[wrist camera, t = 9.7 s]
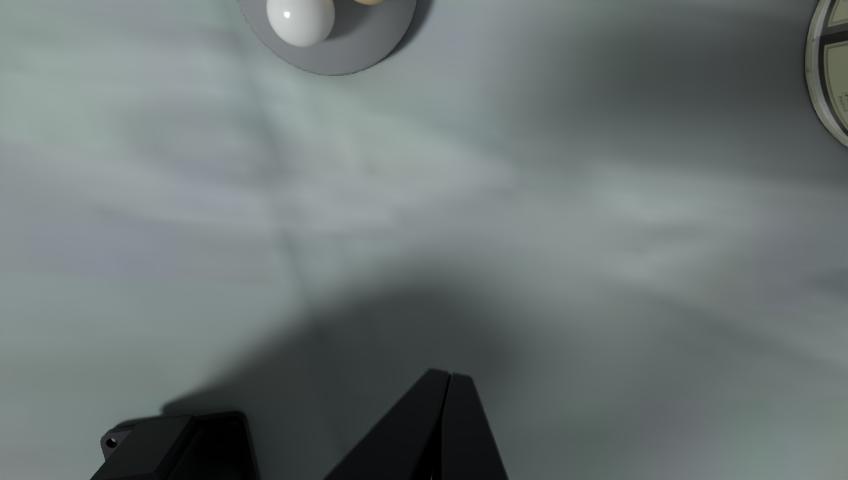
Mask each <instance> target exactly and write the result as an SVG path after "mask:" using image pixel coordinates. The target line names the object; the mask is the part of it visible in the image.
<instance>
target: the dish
mask: <svg viewBox="0 0 848 480" xmlns="http://www.w3.org/2000/svg"><path fill="white" fill-rule="evenodd" d="M237 1H238V3H239V6H240V9H241V11H242V13H243V15H244V17H245V19H246V21H247V23H248V25H249V26H250V27H251V29H252V30H253V32H254V33H255V35H256V36H257V37H258V38H259V39H260V40H261V42H262V43H263V44H264V45H265V46H266V47H267V48H269V49H270V50H271V51H272V52H273V53H274V54H276V55H277V56H279V57H280V58H282V59H283V60H284V61H286V62H287V63H289V64H291V65H293V66H295V67H297V68H299V69H302V70H304V71H307V72H310V73H314V74H319V75H327V76H341V75H348V74H354V73H357V72H360V71H363V70H365V69H367V68H369V67H371V66H373V65H375V64H377V63H378V62H380V61H381V60H383V59H384V58H385V57H386V56H387V55H388V54H390V53H391V52H392V51H393V50H394V48H395V47H396V46H397V45H398V44H399V43H400V41H401V39H402V38H403V36H404V35H405V33H406V31H407V29H408V27H409V25H410V23H411V20H412V17H413V14H414V11H415V7H416V2H417V0H237Z"/></svg>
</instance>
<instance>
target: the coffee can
mask: <svg viewBox="0 0 848 480" xmlns="http://www.w3.org/2000/svg"><path fill="white" fill-rule="evenodd" d="M805 76H806V80H807V85H808V89H809V94H810V98H811V101H812V103H813V106H814V108H815V110H816V113H817V115H818V116H819V118H820V120H821V121H822V123H823V124H824V126H825V127H826V128H827V129H828V131H829V132H830V133H831V134H832V135H833V136H834V137H835V138H837V139H838V140H839V141H840V142H841V143H842V144H843V145H845V146H847V147H848V0H820V1H819V3H818V5H817V8H816V11H815V13H814V15H813V18H812V21H811V24H810V28H809V33H808V38H807V43H806V51H805Z"/></svg>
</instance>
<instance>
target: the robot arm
mask: <svg viewBox="0 0 848 480" xmlns="http://www.w3.org/2000/svg"><path fill="white" fill-rule="evenodd" d="M231 421H236V422H238V424H239V425H233V424H232V423H231ZM111 438H114V439H115V440H116V441H117V442H118V443H116V442H113V441H112V440H111ZM100 443H101V448H102V451H103V454H104V457H105V463H104V464H103V465H102V466H101V467H100V468H99V470H98V471H97V472H96V473H95V474H94V475H93V477H92V478H91V479H90V480H260V476H259V471H258V467H257V462H256V458H255V453H254V449H253V444H252V440H251V435H250V431H249V426H248V422H247V418H246V416H245V415H244V414H243V413H241V412H239V411H231V412H224V413H217V414H210V415H203V416H195V415H185V416H178V417H171V418H164V419H157V420H150V421H143V422H139V423H138V424H137V425H133V426H126V427H119V428H113V429H110V430H109V431H108V432H107V433H106V434H105V435H104V436H103V437H102V438H101V441H100ZM432 473H433V474H432ZM431 478H432V480H509V479H508V476H507V473H506V471H505V468H504V465H503V462H502V459H501V456H500V454H499V451H498V448H497V445H496V442H495V439H494V437H493V434H492V431H491V428H490V425H489V422H488V420H487V417H486V414H485V411H484V408H483V405H482V403H481V400H480V397H479V394H478V391H477V388H476V386H475V383H474V380H473V378H472V377H471V376H470V375H466V374H461V373H456V372H453V373H451V375H450V373H449V371H447V370H442V369H437V368H429V369H428V370H427V371H426V372H425V373H424V374H423V375H422V376H421V377H420V378H419V379H418V380H417V381H416V382H415V383H414V384H413V385H412V386H411V387H410V388H409V389H408V390H407V391H406V393H405V394H404V395H403V396H402V397H401V398H400V399H399V400H398V401H397V402H396V403H395V404H394V405H393V406H392V407H391V408H390V409H389V410H388V411H387V412H386V413H385V414H384V415H383V416H382V418H381V419H380V420H379V421H378V422H377V423H376V424H375V425H374V426H373V427H372V428H371V429H370V430H369V431H368V432H367V433H366V434H365V435H364V436H363V437H362V438H361V439H360V440H359V442H358V443H357V444H356V445H355V446H354V447H353V448H352V449H351V450H350V451H349V452H348V453H347V454H346V455H345V456H344V457H343V458H342V459H341V460H340V461H339V462H338V463H337V464H336V465H335V467H334V468H333V469H332V470H331V471H330V472H329V473H328V474H327V475H326V476H325V477H324V478H323V479H322V480H431Z"/></svg>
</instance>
